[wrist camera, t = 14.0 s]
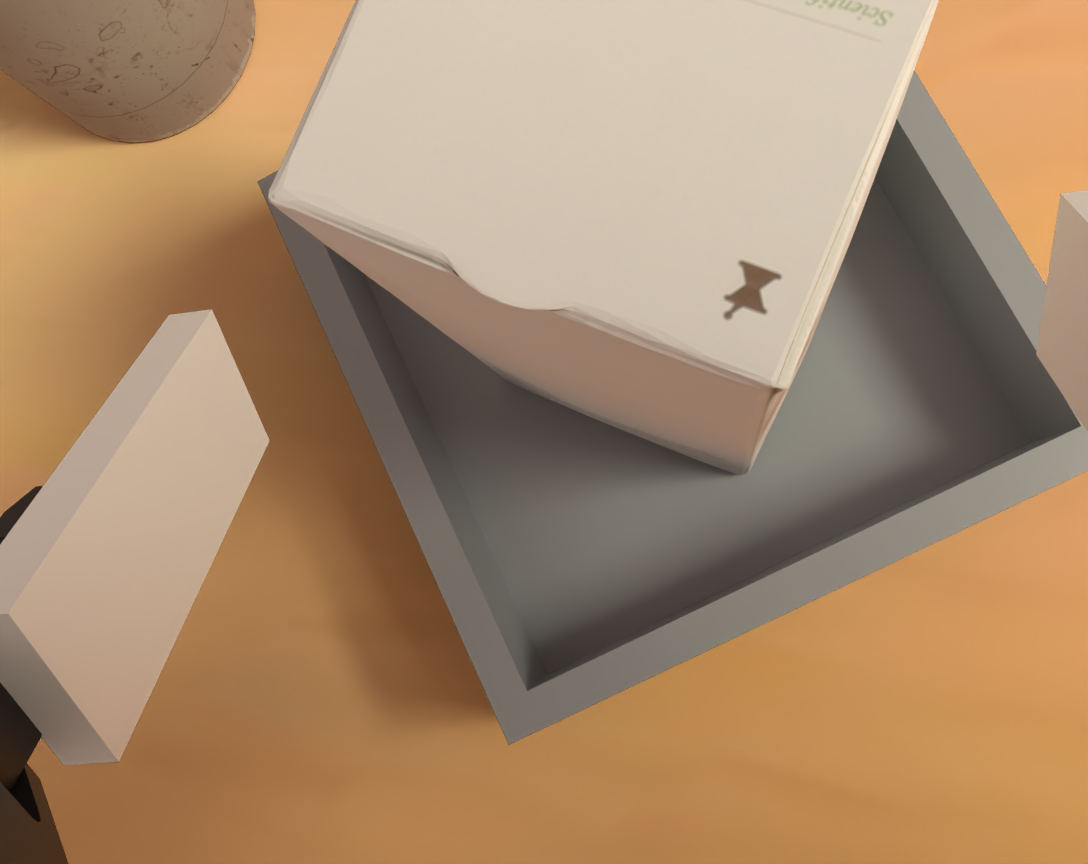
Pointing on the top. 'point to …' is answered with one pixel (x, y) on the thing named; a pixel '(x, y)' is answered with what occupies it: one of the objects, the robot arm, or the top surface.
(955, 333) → the tray
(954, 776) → the top surface
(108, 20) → the thermos bottle
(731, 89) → the skincare box
